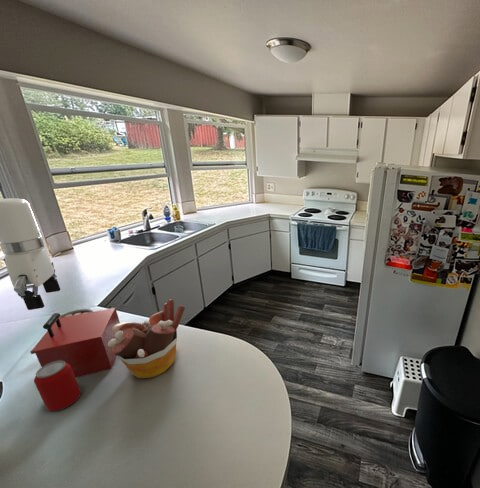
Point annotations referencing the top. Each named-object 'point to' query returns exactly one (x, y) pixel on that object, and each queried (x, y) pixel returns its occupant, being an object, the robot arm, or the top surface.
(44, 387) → the beverage can
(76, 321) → the lid
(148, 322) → the bucket of meat
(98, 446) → the top surface
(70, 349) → the red hinged box
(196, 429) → the top surface
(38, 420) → the top surface
